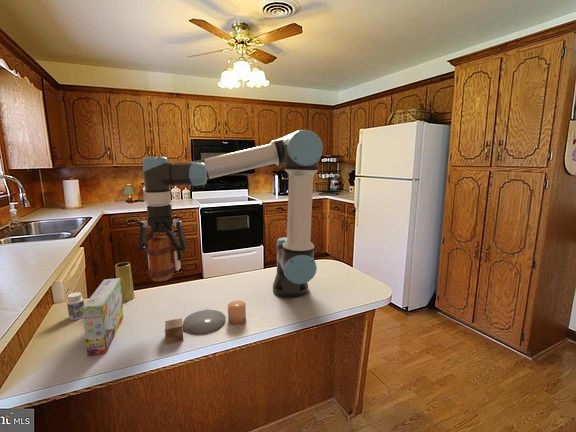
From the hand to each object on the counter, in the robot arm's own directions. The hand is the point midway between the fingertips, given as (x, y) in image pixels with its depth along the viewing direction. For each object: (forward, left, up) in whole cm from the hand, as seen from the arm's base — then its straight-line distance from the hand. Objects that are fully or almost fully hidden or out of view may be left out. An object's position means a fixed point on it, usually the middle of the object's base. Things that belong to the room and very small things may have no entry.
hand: (165, 269), depth 104 cm
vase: (+22, -14, -18) cm, 32 cm away
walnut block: (-7, +13, -18) cm, 23 cm away
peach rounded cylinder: (-25, +3, -18) cm, 31 cm away
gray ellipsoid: (-14, +4, -18) cm, 23 cm away
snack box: (+15, +11, -18) cm, 26 cm away
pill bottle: (+32, 0, -18) cm, 37 cm away
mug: (0, 0, -3) cm, 3 cm away
